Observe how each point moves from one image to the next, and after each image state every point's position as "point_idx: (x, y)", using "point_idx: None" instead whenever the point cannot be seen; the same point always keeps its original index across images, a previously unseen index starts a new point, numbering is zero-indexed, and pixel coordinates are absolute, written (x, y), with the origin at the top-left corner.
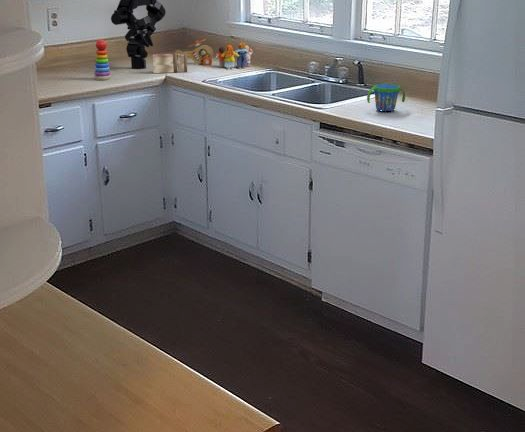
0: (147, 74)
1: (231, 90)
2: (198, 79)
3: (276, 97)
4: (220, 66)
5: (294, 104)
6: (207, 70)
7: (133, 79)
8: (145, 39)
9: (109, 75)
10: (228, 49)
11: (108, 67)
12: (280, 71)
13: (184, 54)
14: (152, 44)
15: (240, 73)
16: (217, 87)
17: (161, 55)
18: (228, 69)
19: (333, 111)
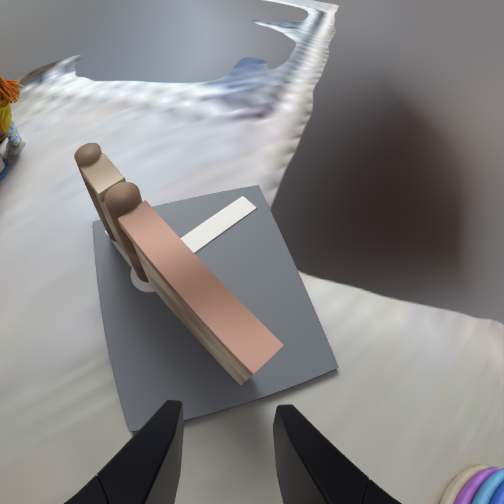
0: (250, 427)
1: (310, 60)
2: (230, 137)
3: (304, 26)
4: (3, 165)
5: (324, 20)
6: (33, 193)
7: (409, 388)
8: (332, 500)
9: (466, 478)
10: (3, 80)
11: (497, 481)
12: (49, 67)
13: (101, 153)
14: (177, 407)
15: (80, 98)
16: (304, 78)
17: (216, 278)
18: (24, 143)
19: (321, 8)
